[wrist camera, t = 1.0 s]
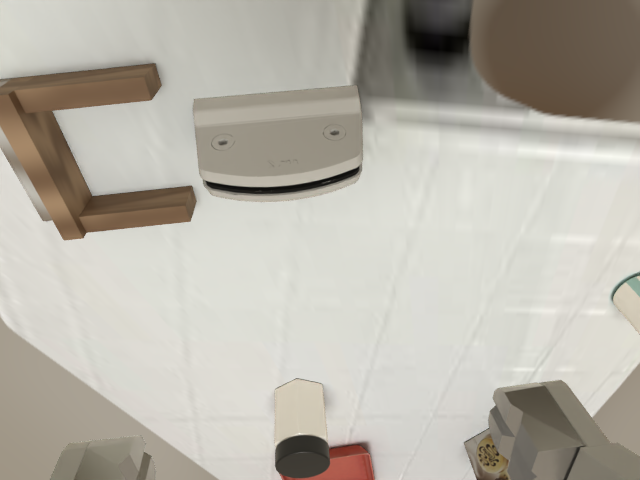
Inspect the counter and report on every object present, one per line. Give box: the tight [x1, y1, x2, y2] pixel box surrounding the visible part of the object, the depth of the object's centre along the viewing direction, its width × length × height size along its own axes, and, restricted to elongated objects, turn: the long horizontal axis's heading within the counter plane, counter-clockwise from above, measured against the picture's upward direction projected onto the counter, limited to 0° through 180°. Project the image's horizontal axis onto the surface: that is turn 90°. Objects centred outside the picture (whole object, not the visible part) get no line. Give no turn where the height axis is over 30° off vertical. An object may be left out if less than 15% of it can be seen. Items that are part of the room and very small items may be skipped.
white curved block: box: [193, 85, 363, 202], centre depth 41 cm, size 17×5×10 cm, turn 94°
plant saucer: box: [279, 445, 375, 480], centre depth 89 cm, size 18×18×3 cm
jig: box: [0, 64, 196, 240], centre depth 42 cm, size 15×17×5 cm
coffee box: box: [464, 429, 511, 480], centre depth 80 cm, size 9×6×16 cm
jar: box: [274, 379, 330, 478], centre depth 68 cm, size 9×8×12 cm
